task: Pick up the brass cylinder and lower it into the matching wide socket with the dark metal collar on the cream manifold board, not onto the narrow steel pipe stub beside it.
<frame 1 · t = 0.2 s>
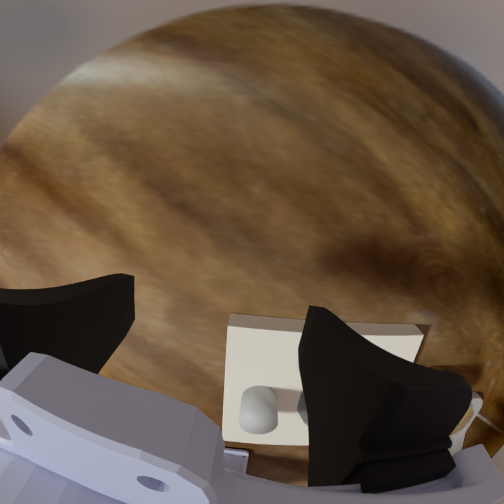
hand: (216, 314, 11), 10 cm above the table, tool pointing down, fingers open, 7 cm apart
adjustable wrench: (449, 442, 28), on the table
manifold board: (314, 386, 24), on the table
brass cylinder: (428, 380, 24), on the table
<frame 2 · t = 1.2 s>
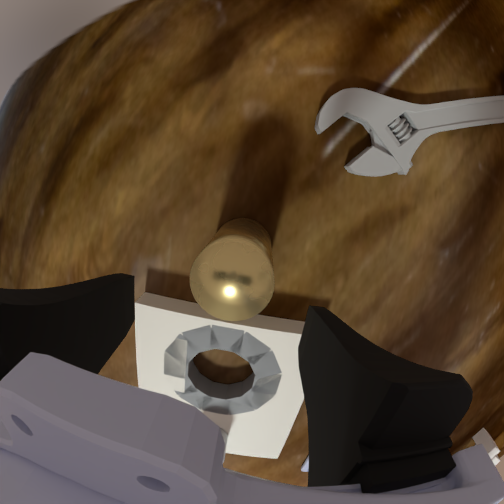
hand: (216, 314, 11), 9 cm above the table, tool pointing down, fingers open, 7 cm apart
adjustable wrench: (455, 123, 17), on the table
manifold board: (219, 386, 24), on the table
brass cylinder: (242, 246, 20), on the table
napkin holder: (482, 436, 28), on the table
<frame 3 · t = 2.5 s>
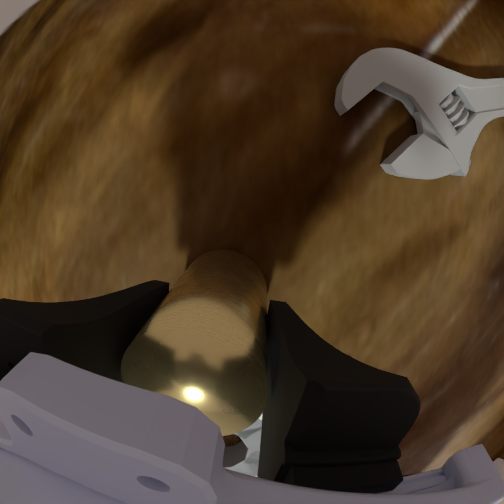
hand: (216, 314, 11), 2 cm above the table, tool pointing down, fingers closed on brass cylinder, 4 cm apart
manifold board: (206, 448, 17), on the table
brass cylinder: (224, 290, 14), on the table, touching gripper
napkin holder: (497, 462, 21), on the table
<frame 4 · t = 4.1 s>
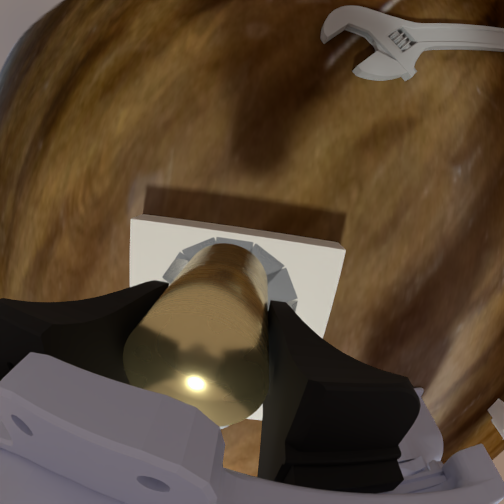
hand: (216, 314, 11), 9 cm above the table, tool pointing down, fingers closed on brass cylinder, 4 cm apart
adjustable wrench: (450, 47, 15), on the table
manifold board: (225, 328, 22), on the table
brass cylinder: (225, 284, 14), point 7 cm above the table, touching gripper
napkin holder: (500, 407, 26), on the table
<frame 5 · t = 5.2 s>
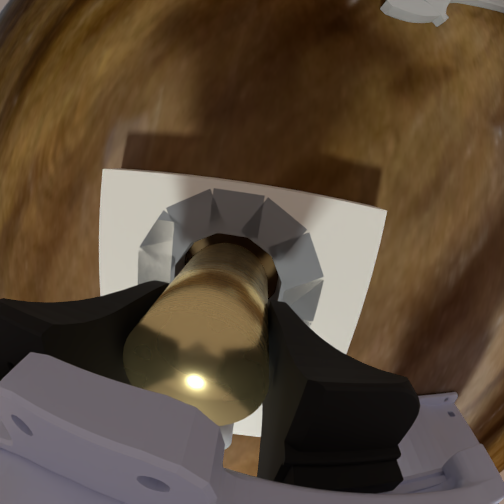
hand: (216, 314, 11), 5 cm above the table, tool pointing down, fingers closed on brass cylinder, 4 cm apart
adjustable wrench: (476, 5, 10), on the table
manifold board: (224, 320, 17), on the table
brass cylinder: (225, 284, 14), point 2 cm above the table, touching gripper
when the fingers open (3 cm above the table, at t = 5.9 s): brass cylinder stays where it is, resting in manifold board.
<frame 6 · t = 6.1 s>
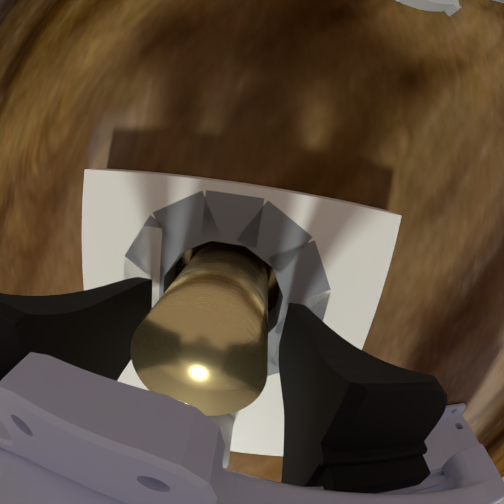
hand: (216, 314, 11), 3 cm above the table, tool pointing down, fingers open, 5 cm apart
manifold board: (220, 334, 15), on the table
brass cylinder: (227, 280, 14), resting in manifold board
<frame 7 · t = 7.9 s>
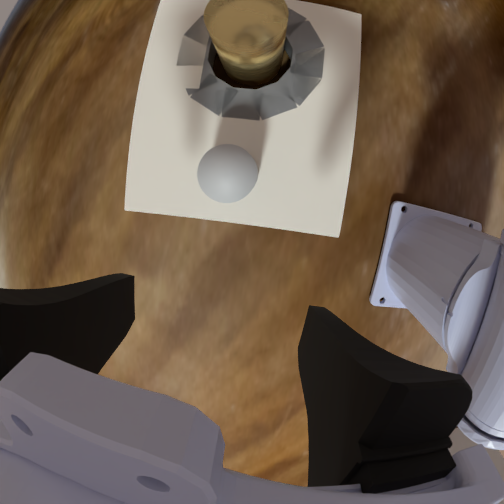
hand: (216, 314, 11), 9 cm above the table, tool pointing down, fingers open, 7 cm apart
manifold board: (245, 101, 17), on the table
brass cylinder: (252, 60, 17), resting in manifold board
white stacked column: (428, 444, 27), on the table
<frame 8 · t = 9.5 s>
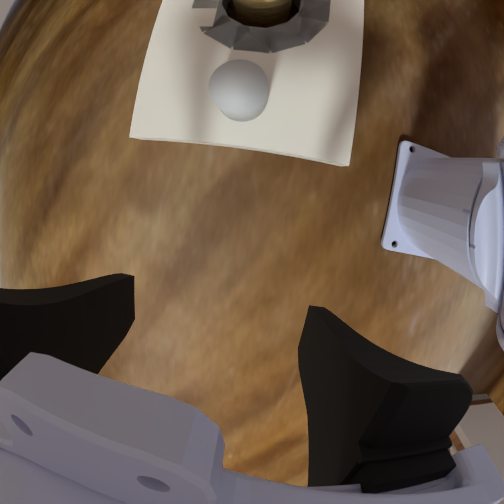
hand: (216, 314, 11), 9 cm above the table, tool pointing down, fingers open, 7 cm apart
manifold board: (255, 43, 16), on the table
brass cylinder: (262, 10, 15), resting in manifold board
white stacked column: (438, 426, 26), on the table
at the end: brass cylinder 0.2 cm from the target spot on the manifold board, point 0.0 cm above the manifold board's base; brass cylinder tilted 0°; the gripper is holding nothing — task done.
